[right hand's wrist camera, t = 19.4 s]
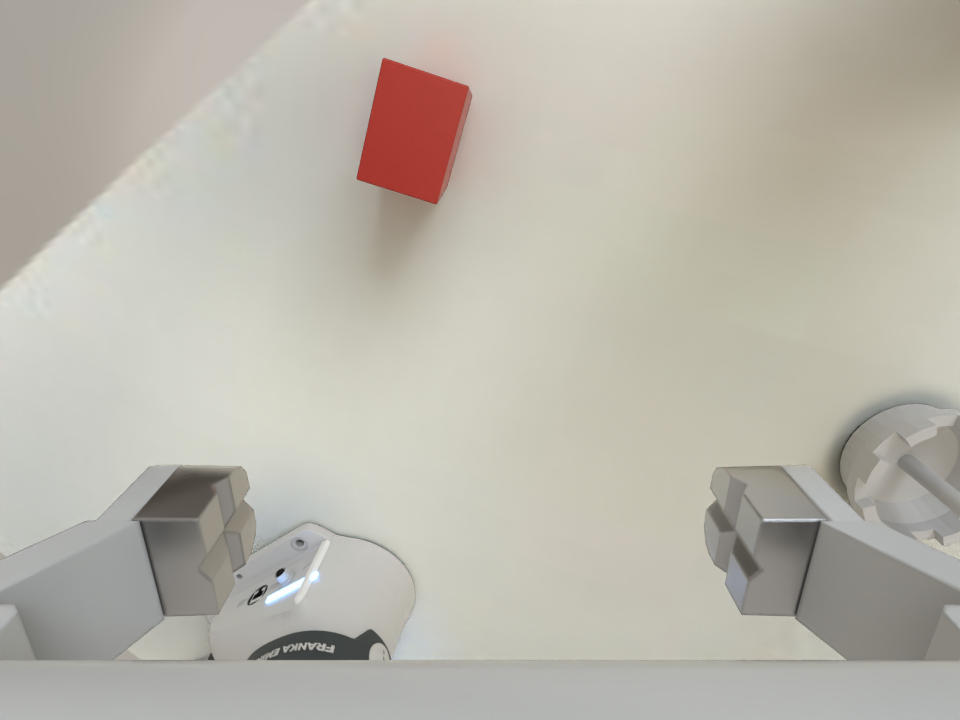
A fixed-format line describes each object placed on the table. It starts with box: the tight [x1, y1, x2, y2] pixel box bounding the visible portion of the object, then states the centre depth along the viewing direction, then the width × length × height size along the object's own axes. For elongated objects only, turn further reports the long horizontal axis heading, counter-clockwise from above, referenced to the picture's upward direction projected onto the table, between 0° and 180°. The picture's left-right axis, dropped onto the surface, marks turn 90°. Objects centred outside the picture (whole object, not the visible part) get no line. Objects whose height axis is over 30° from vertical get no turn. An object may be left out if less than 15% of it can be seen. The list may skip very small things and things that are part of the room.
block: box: [357, 58, 472, 204], centre depth 40 cm, size 5×7×11 cm
